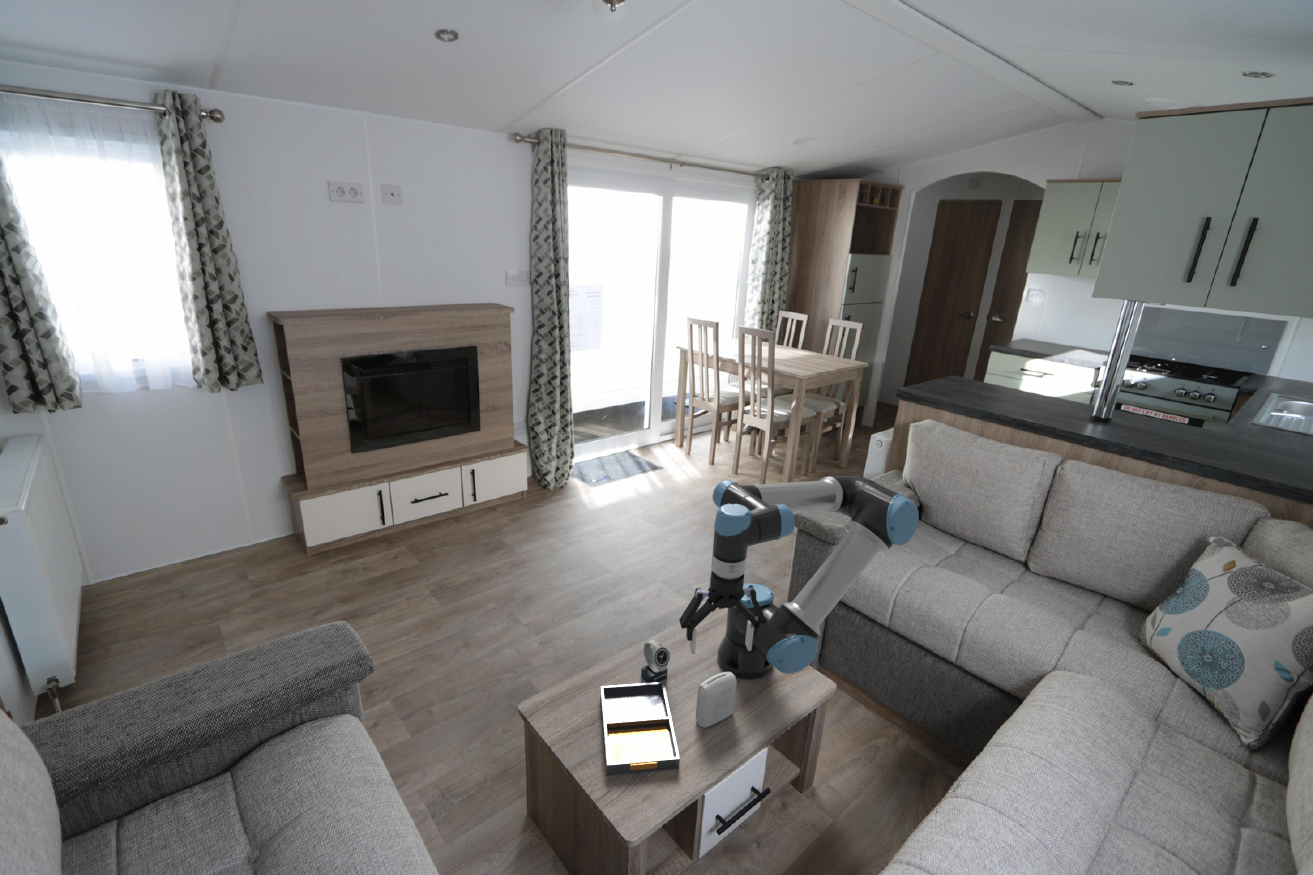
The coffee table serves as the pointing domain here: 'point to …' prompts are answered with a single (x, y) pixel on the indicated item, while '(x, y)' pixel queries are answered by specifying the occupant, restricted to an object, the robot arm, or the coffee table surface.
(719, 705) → the photo printer
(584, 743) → the coffee table surface
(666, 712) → the tray
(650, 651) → the watch
